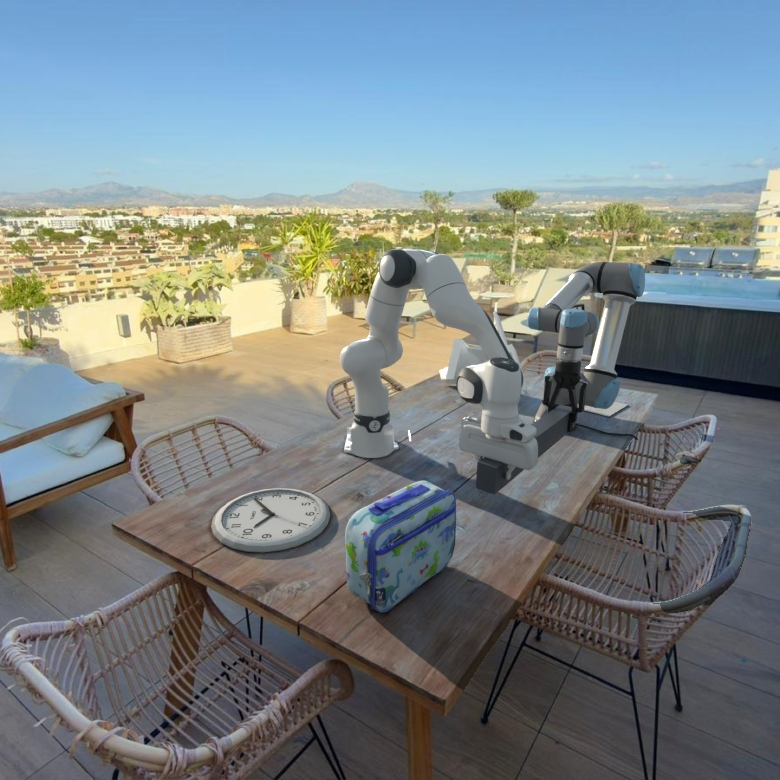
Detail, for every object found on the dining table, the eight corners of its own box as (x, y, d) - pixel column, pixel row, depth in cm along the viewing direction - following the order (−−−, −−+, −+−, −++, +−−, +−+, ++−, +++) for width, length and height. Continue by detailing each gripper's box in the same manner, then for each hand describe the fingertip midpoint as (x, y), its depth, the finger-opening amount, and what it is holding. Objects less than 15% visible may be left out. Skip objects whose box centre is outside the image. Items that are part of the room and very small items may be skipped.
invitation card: (608, 416, 214) (573, 407, 224) (608, 416, 214) (573, 408, 224) (628, 404, 229) (594, 396, 238) (628, 405, 229) (594, 397, 238)
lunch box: (374, 626, 100) (375, 530, 93) (338, 598, 107) (337, 508, 101) (459, 568, 117) (465, 484, 111) (424, 547, 124) (427, 467, 118)
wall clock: (328, 544, 122) (196, 548, 120) (328, 550, 123) (197, 554, 120) (331, 483, 151) (225, 486, 148) (331, 488, 151) (225, 491, 149)
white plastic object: (461, 429, 252) (437, 405, 227) (444, 352, 274) (420, 323, 250) (535, 404, 240) (518, 377, 215) (510, 326, 262) (492, 293, 237)
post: (557, 425, 175) (560, 404, 173) (573, 428, 172) (575, 407, 170) (475, 488, 131) (477, 461, 129) (494, 494, 128) (496, 467, 126)
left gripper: (456, 417, 132) (452, 467, 136) (533, 438, 121) (527, 491, 125) (468, 411, 137) (464, 459, 141) (543, 430, 125) (537, 482, 130)
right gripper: (536, 357, 165) (529, 425, 172) (595, 366, 155) (585, 439, 162) (544, 353, 171) (537, 419, 178) (602, 362, 161) (592, 432, 168)
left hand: (494, 474), depth 133 cm, fingers closed on post, 5 cm apart
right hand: (560, 428), depth 170 cm, fingers closed on post, 5 cm apart
